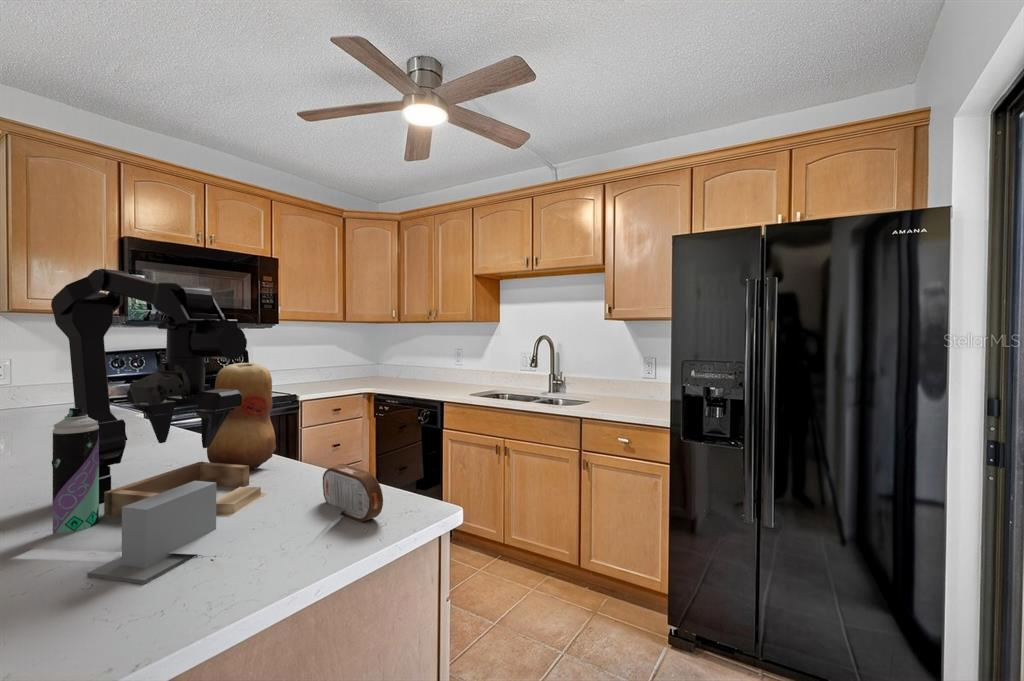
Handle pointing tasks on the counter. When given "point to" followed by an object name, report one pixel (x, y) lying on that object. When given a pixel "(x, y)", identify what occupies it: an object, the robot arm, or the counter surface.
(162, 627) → the counter surface
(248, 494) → the offcut upper
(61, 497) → the spray can
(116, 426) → the robot arm
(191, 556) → the mat
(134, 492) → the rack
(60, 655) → the counter surface
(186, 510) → the gray rectangular block
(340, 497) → the tin
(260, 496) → the offcut lower
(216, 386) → the butternut squash
